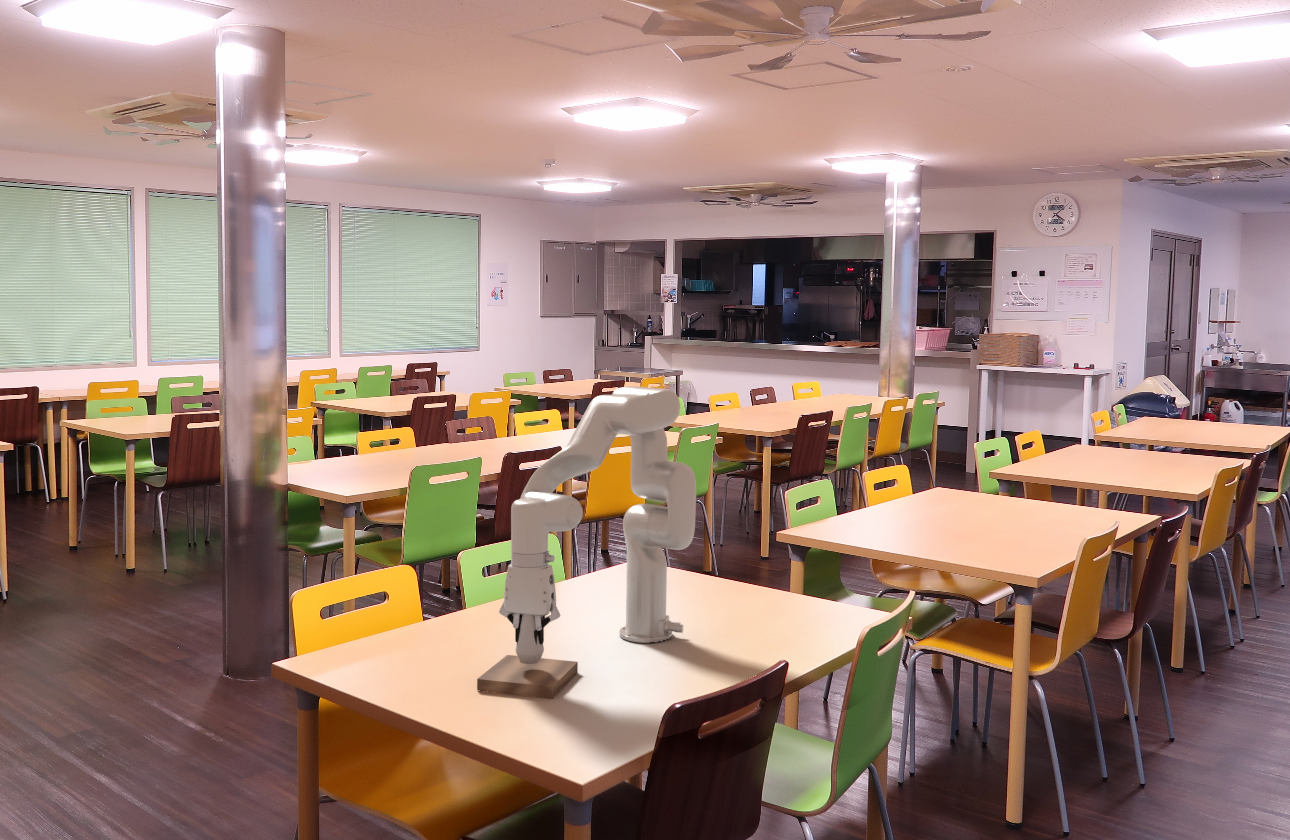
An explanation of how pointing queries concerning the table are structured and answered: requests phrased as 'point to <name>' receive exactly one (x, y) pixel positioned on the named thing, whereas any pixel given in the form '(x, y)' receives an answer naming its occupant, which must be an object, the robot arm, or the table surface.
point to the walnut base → (528, 677)
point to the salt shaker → (528, 642)
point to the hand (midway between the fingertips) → (529, 645)
